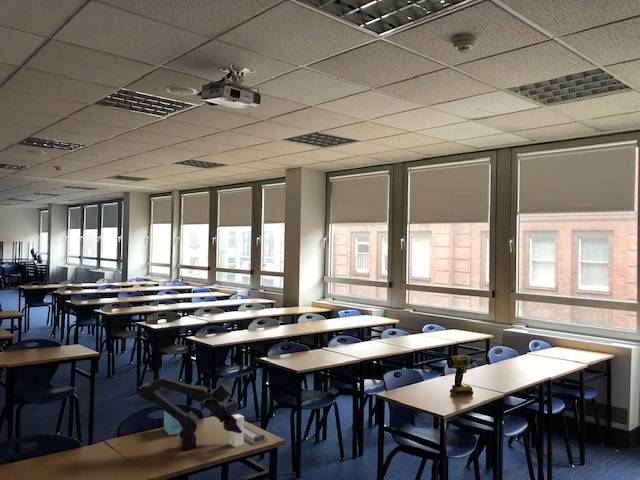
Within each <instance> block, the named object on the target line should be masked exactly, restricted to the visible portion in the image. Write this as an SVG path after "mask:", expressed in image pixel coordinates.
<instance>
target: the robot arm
mask: <svg viewBox="0 0 640 480" xmlns="http://www.w3.org/2000/svg"><path fill="white" fill-rule="evenodd" d="M161 388H164V389H167V390H170V391H174V392H178V393H180V394H183V395H187V396H188V397H190V398H191V399H192V400H194V401H196V402H199V406H200V411H203V410H204V409H206V410H207V411H208V412H210V413H211V414H212V415H213V417H214V418H216V419H217V420H218V421H219V422H220V423H221V424H222V427H223V429H224V430H225V431H226V432H229V431H232V432H236V433H240V434H241V433H242V431H241V430H240V428H239V427H238V426H237V424H236V422H237V420H236V418H235V417H234V416H232V415H233V413H232V412H233V411H234V410H236V409H238V408H239V404H238V402H237V400H236V399H235V398H231V397H230V396H231V395H232V390H231V389H230V388H229V387H228V386H227V385H226V384H223V382H221V383H220V384H219V385H218V386H217V387H216V388H215V389H213V388H208V387H206V386H204V385H198V384H197V385H196V384H194V385H192V384H187V383H185V382H181V381H179V380H175V379H171V378H169V377H167V376H161V378H159V379H156V380H153V381H152V382H151V381H150V382H146V383H144V384H143V385H141V386H140V387H139V388H138V391H137V395H138V397H139V398H141V399H143V400H144V401H147V402H150V403H153V404H155V405H156V406H157V407H159V408H160V409H162V410H163V412H164V411H165V412H167V413H168V414H169V415H171V416H172V417H173V418H175V419H176V420H177V421H178V422H179V426H180V427H181V429H180V430H179V434H178V435H179V445H178V448H179V449H180V450H181V451H183V452H187V451H189V450H193V449H197V447H198V446H197V436H196V433H195V432H196V431H197V430H198V428H199V426H200V419H199V417H198V415H196V414H195V413H194V412H192V411H191V410H190V411H189V412H185V411H183V410H182V409H181V408H180V407H178V406H177V405H175V404H174V403H173V402H172V401H170V400H169V399H167V398H166V397H165V396H164V395H162V394H161V392H160V391H159V390H161ZM225 400H226V402H225ZM224 402H225V404H223V403H224Z"/></svg>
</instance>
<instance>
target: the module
mask: <svg viewBox="0 0 640 480" xmlns="http://www.w3.org/2000/svg"><path fill="white" fill-rule="evenodd" d="M232 416H234V417H235V418H236V420H237V422H236V424H237V426H238V427H239V428H240V430H241V431H242V433H241V434H240V433H236V432H232V431H228V432H229V433H228V434H229V435H228V438H229V440H228V444H229V445H231V446H232V447H233V448H235V447H236V448H237V447H239V446H243V445H245V440H244V426H245V416H243V415H241V414H240V413H236V414H232Z"/></svg>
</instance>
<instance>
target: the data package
mask: <svg viewBox="0 0 640 480" xmlns="http://www.w3.org/2000/svg"><path fill="white" fill-rule="evenodd" d="M163 429H164V431H165V432H166V433H167V434H168V436H175V435H179V433H180V423H179V422H178V421H177V420H176V419H175V418H173V417H172V416H171V415H169V414H168V413H167V412H165V411H164V410H163Z"/></svg>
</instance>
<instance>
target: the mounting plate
mask: <svg viewBox="0 0 640 480" xmlns="http://www.w3.org/2000/svg"><path fill="white" fill-rule="evenodd" d="M268 440H269V438H267V437H266V435H265V434H260V433H259V432H256V431H254V430H253V429H251V428H250V427H247V426H246V425H244V442H245V441H246V442H248V443H249V444H250V445H252V446H255V445H259V444H262V442H263V443H265V442H268ZM258 443H259V444H258Z"/></svg>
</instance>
